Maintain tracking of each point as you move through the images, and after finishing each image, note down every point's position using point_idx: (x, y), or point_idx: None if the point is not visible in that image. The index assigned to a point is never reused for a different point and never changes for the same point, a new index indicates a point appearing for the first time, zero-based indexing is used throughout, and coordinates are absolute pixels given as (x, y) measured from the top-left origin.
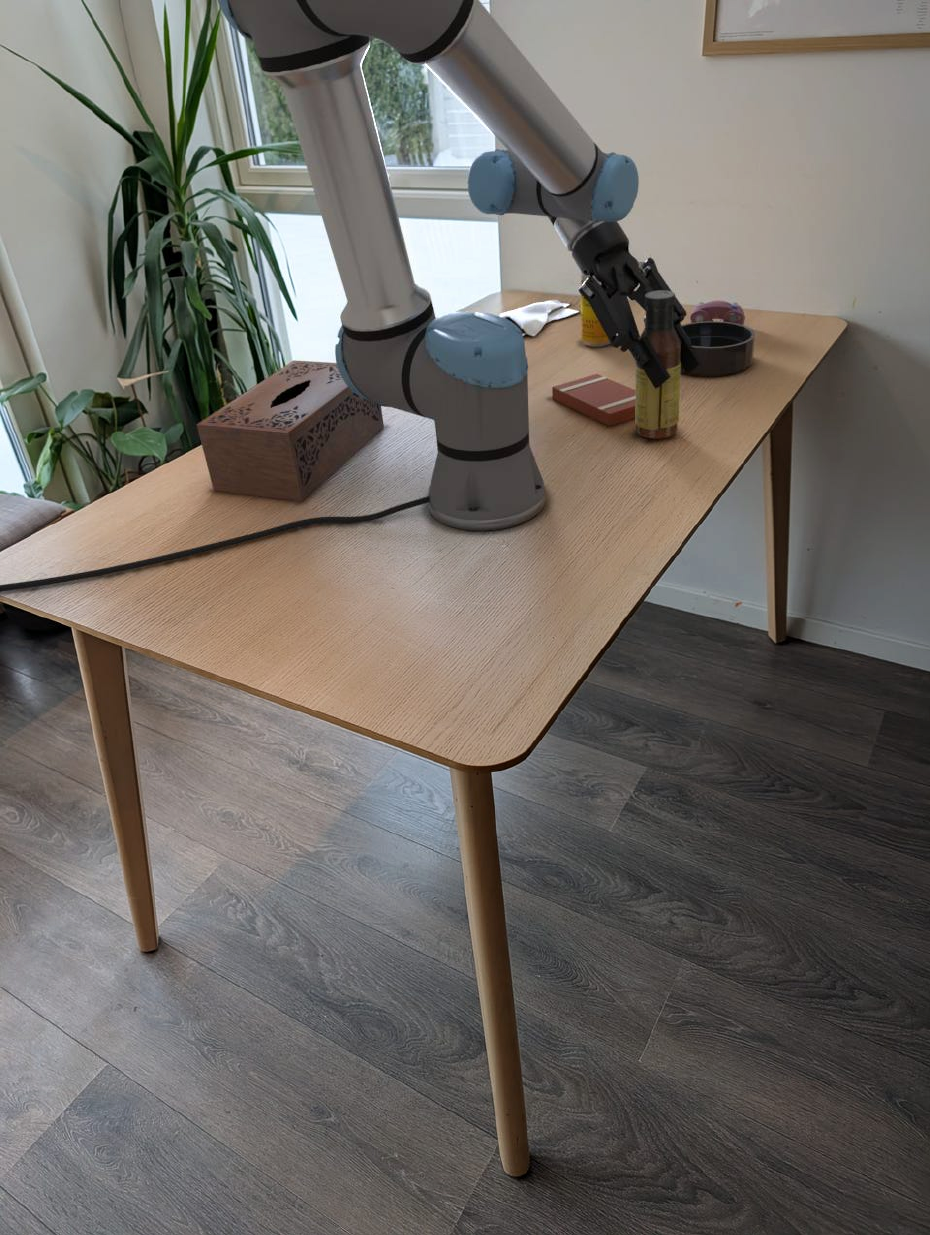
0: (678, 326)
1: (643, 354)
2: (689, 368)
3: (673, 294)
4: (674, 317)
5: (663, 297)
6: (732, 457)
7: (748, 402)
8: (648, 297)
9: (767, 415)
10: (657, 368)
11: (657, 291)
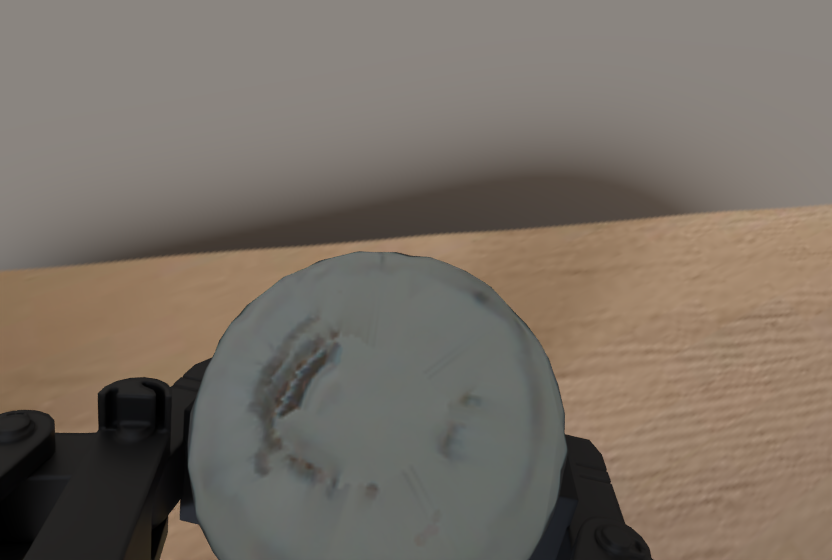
0: None
1: (586, 468)
2: None
3: (347, 261)
4: (139, 447)
5: (499, 308)
6: (428, 250)
7: (33, 348)
8: (558, 493)
9: (128, 268)
10: None
11: (270, 508)
